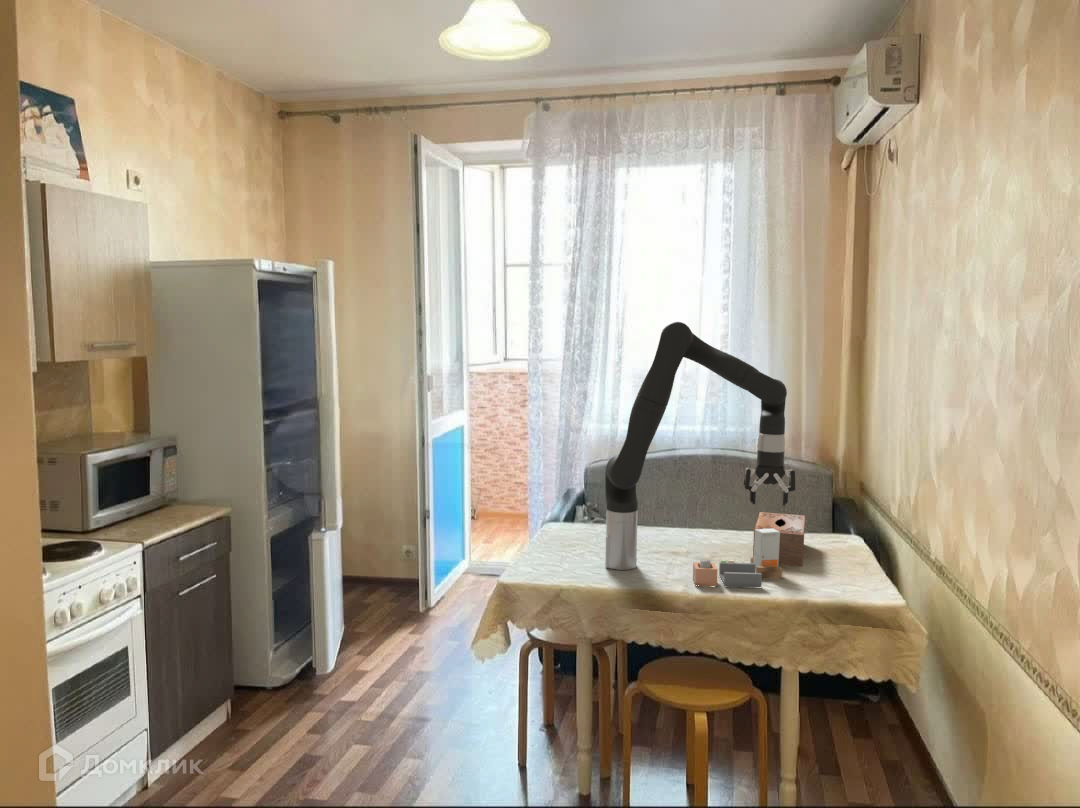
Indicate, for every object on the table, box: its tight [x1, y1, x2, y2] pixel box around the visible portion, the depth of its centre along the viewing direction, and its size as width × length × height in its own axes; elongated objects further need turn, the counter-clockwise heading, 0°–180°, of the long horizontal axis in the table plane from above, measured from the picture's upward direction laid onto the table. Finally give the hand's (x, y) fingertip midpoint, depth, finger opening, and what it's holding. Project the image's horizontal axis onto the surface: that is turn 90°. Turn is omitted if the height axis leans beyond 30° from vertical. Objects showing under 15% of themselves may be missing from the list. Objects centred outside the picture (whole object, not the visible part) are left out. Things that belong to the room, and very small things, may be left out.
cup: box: [692, 558, 719, 587], centre depth 232 cm, size 6×6×6 cm
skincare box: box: [753, 528, 780, 570], centre depth 241 cm, size 6×4×12 cm
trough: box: [749, 556, 783, 580], centre depth 241 cm, size 7×10×3 cm
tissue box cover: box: [752, 511, 806, 567], centre depth 262 cm, size 26×14×10 cm, turn 161°
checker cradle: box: [718, 559, 763, 588], centre depth 233 cm, size 10×10×5 cm
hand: (768, 504), depth 239 cm, fingers open, 8 cm apart
